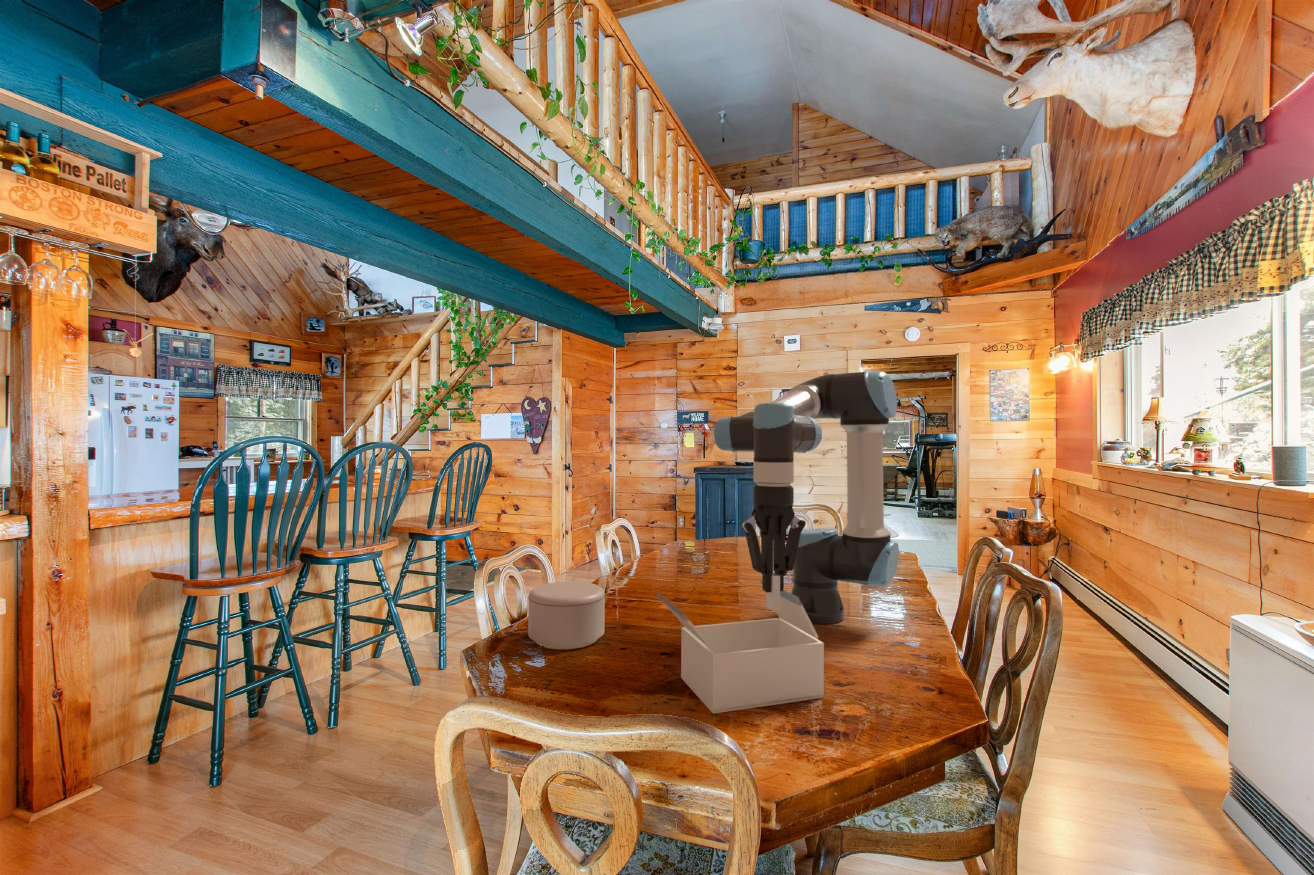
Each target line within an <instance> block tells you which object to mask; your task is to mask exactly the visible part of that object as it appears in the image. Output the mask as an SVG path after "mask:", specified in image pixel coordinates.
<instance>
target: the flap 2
mask: <svg viewBox="0 0 1314 875" xmlns="http://www.w3.org/2000/svg"><path fill="white" fill-rule="evenodd" d="M760 584H762V580H760ZM775 612H776V615H777V618H781V619H783V620H785V621H786V622H788V623H790V624H792V625H793V626H795V627H797V628H799V629H800V630H802V631H804V632H806V633H807V634H809V635H811V636H813V637H814V638H816V639H818V638H819V635H818V633H817V631H816V629H815V627H814V625H813V623H811V621H810V619H809V617H808V615H807V613H806V611H805V609H804V607H803V605H802V603H801V601H800V599H799V597H797V596H795V595H793V594H791V592H789V591H786V590H785V589H783V591H780V610H778V611H775Z"/></svg>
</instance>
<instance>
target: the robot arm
mask: <svg viewBox="0 0 1314 875" xmlns="http://www.w3.org/2000/svg"><path fill="white" fill-rule="evenodd" d="M897 408H898V396H897V391H896V389H895V384H894V382H893V380H892V378H891V377H890V375H889V374H888V373H886V372H885V371H870V370H867V371H859V372H857V371H856V372H844V373H836V374H835V373H830V374H824V375H820V376H816V377H814V378H811V379H808V380H805V381H804V382H801V383H798V384H797V385H795V386H793V387H791V388H790V389H789V390H788V391H787V393H786V394H785V395H783V396H780V397H778V398H776V399H774V400H772V401H770V402H763V403H758V404H756V405H755V407H754V409H753V410H751V411H748V412H746V413H744V414H742V415H739V416H732V415H730V416H725V417H721V418H719V419H718V420H717V422H716V423H715V426H714V429H713V436H714V437H713V438H714V442H715V445H716V446H717V448H718V449H719V450H721V451H726V452H732V453H735V452H751V453H752V452H753V482H754V483H755V485H754V486H753V487H752V488H753V489H752V490H753V493H752V494H753V495H752V496H753V498H752V499H753V500H752V503H753V510H752V512H751V517H749V518H748V519H747V520H746V521H744V520H743V521H741V522H740V523H739V524H740V527H741V530H743V532H744V534H745V539H746V543H747V548H748V553H749V557H750V558H749V559H750V562H751V567H752V569H753V570H754V571H755V572H757V573H759V574H761V575H762V577H761V578H762V583H761V585H762V588H761V589H762V591H763V592H765V607H766V608H767V609H768V610H770V611H772V612H776V611H778V610H780V591H783V590H785V589H784V587H785V586H784V585H785V584H784V583H785V582H784V580H785V576H786V575H787V574H788V572H791V571H792V574H793V575H792V578H793V579H792V581H793V582H792V588H791V590H790V593H791V594H793V595H795V596H797V597H799V599H800V601H801V603H802V605H803V607H804V609H805V611H806V613H807V615H808V617H809V619H810V621H811V623H812V624H835V623H839V622H842V621H843V620H844V619H845V607H844V604H843V601H842V598H841V594H840V592H839V589H838V588H839V587H838V581H839V582H845V583H851V584H856V585H857V584H859V585H864V586H868V587H880V588H881V587H882V588H883V587H887V586H888V585H890V584H891V582H892V581H893V580H894V578H895V575H896V573H897V570H898V565H899V558H900V547H899V544H898V542H896V541H894V540H891V532H890V531H889V530H888V528H886V527H885V523H884V522H885V520H884V516H885V514H884V508H885V507H884V457H883V456H884V450H883V448H884V447H883V446H884V443H883V441H884V440H883V436H884V435H883V432H884V431H885V429H886V428H888V426H889V424H890V419H892V418H894V417H896V414H897V411H898V410H897ZM816 419H833V420H835V419H836V420H837V419H840V425H839V426H840V427H841V428H842V429H843V430H844V431H845V433H846V455H847V456H846V462H847V463H846V467H847V468H846V469H847V470H846V472H847V522H848V524H847V525H846V527H844V529H842V531H841V533H842V535H839V534H840V532H839V530H838V529H836V528H816V529H814V528H813V529H806V530H804V528H805V526H806V525H807V523H806V521H805V520H802V519H800V518H799V517H797V516H796V513H795V512H794V502H795V501H794V500H795V497H794V495H795V494H794V493H795V492H794V487H793V485H791V484H793V483H794V482H795V478H794V476H795V475H794V474H795V473H794V472H795V470H794V469H795V468H794V463H795V462H794V454H795V453H799V454H800V453H802V454H805V453H807V452H812V451H813V450H815V449H816V448H817V447H819V445H820V443H821V442H822V438H823V431H822V430H823V429H822V427H821V424H820V423H819V422H818V421H817V420H816ZM757 527H758V529H759V536H760V539H761V540H760V544H761V546H760V544H759V538H758V534H757V531H756V529H757ZM788 529H789V530H788ZM787 530H788V532H787ZM760 547H761V548H760Z"/></svg>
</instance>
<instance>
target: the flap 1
mask: <svg viewBox="0 0 1314 875" xmlns="http://www.w3.org/2000/svg"><path fill="white" fill-rule="evenodd" d="M656 597H657V598H659V599H660V601H661V602H662V603H663V604H664V605H665V606H666V608H668V610H669V611H670V612H671V613H672V614H673V615H674V616H675V618H677V620H678V621H679V622H680V623H681V625H683V627H686V628H687V629H688V630H689V631H691V632H692V633H693V634H694V635H695V636H696V637H698V638H699V639H700V640H701V641H702V642H703V643H704V644H706V645H707V646H708V647H709V648H710V649H711V650H713V649H714V647H713V646H712V645H711V644H710V643H709V642H708V641H707V639H706V638H705V637H704V636H703V635H702V634H701V633H700V632H699V631H698V629H697V628H696V627H695V626H696V625H694V624H693V623H692V621H690V619H689V618H688V617H687V616H686V615H685V613H683V612H682V611H681V610H680V609H679V608H678V607H676V606H675V605H673V603H671V602H670V601H668V600H667V599H666V598H665V597H663V596H662V595H661V594H660V593H657V594H656Z"/></svg>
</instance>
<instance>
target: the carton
mask: <svg viewBox="0 0 1314 875" xmlns="http://www.w3.org/2000/svg"><path fill="white" fill-rule="evenodd" d="M694 626H695V627H696V628H697V629H698V631H699V632H700V633H701V634H702V635H703V636H704V637H705V638H706V639H707V641H708V642H709V643H710V644H711V645H712V646H713V647H714V649H713V650H711V649H710V648H709V647H708V646H707V645H706V644H704V643H703V642H702V641H701V640H700V639H699V638H698V637H696V636H695V635H694V634H693V633H692V632H691V631H689V630H688V629H687V628H686V627H685V626H683V627H682V626H681V632H680V633H681V635H680V636H681V643H680V644H681V645H680V646H681V649H680V650H681V651H680V654H681V657H680V658H681V659H680V660H681V662H680V664H681V667H680V672H681V673H680V677H681V679H682V680H683V682H684V683H685V684H686V685H687V686H688V687H689V688H690V689H691V691H692V692H693V693H694V694H695V695H696V697H698V699H700V701H701V702H702V703H703V704H704V705H705V706H706V708H707V709H708V710H709V711H710V712H711V714H720V713H726V712H732V711H739V710H746V709H755V708H759V707H760V708H762V707H766V706H767V707H768V706H774V705H776V706H777V705H782V704H788V703H795V702H801V701H802V702H803V701H807V700H808V701H809V700H815V699H816V700H817V699H822V698H825V697H824V696H825V695H824V694H825V693H824V691H825V690H824V689H825V685H824V682H825V668H824V667H825V665H824V664H825V642H823V641H821V640H819V639H818V638H817V639H816V638H814V637H813V636H811V635H809V634H808V633H806V632H804V631H802V630H801V629H799V628H797V627H795V626H794V625H792V624H790V623H788V622H787V621H785V620H783V619H781V618H780V617H777V618H766V619H765V618H764V619H757V620H755V619H754V620H753V619H752V620H745V621H734V622H723V623H714V624H704V625H701V624H700V625H694Z"/></svg>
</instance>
